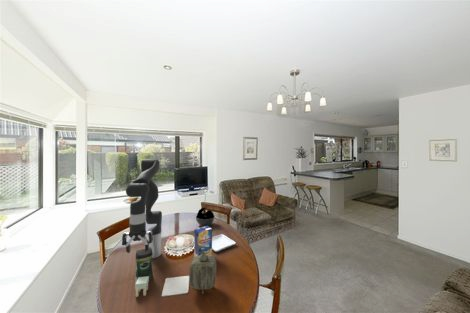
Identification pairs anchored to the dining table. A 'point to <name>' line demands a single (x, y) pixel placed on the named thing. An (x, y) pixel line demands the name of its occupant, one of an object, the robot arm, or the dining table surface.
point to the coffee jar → (144, 263)
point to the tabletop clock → (202, 271)
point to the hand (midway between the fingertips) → (137, 251)
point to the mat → (176, 286)
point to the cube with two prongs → (141, 285)
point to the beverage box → (203, 240)
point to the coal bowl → (205, 217)
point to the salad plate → (221, 242)
